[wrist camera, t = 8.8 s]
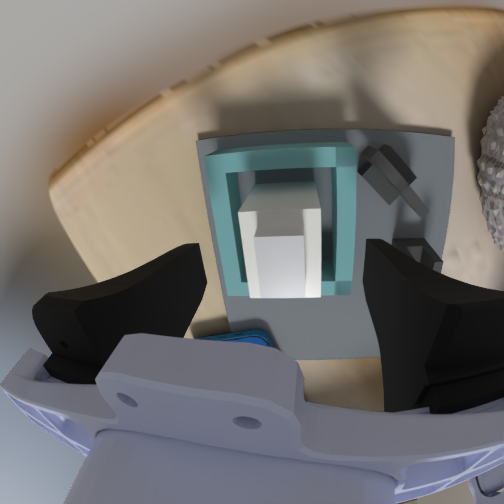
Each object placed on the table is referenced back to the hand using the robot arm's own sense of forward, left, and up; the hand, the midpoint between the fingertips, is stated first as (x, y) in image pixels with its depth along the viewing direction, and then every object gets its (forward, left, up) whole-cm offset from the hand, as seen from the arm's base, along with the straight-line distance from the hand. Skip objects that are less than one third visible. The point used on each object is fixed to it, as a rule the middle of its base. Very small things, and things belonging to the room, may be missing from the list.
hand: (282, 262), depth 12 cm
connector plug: (0, 0, -6) cm, 6 cm away
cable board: (-3, +4, -6) cm, 8 cm away
